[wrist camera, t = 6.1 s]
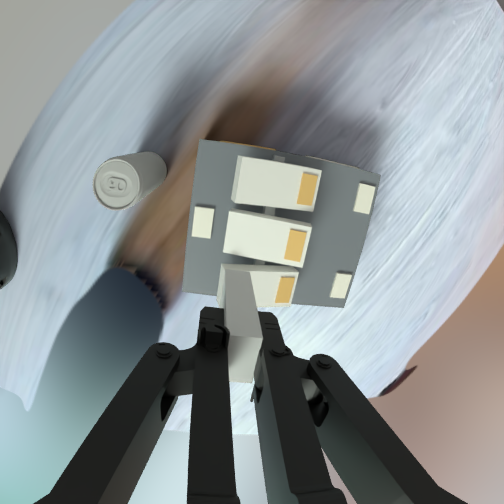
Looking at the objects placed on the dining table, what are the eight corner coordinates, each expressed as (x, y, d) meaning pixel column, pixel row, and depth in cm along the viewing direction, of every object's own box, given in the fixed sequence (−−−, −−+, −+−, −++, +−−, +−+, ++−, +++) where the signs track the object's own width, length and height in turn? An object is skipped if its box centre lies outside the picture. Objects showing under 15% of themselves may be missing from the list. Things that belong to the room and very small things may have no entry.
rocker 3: (216, 299, 32) (219, 308, 30) (221, 263, 30) (224, 271, 29) (284, 299, 34) (290, 307, 33) (292, 266, 33) (299, 273, 31)
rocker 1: (230, 199, 28) (235, 203, 26) (237, 155, 27) (242, 156, 25) (305, 207, 31) (313, 212, 29) (314, 168, 29) (322, 170, 28)
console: (187, 270, 39) (180, 297, 33) (204, 138, 34) (198, 137, 27) (329, 286, 42) (347, 313, 35) (359, 167, 36) (387, 175, 29)
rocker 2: (225, 247, 31) (222, 252, 30) (231, 208, 30) (228, 211, 28) (301, 262, 31) (302, 268, 29) (310, 223, 30) (312, 227, 28)
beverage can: (135, 147, 33) (95, 153, 22) (171, 155, 34) (146, 162, 23) (127, 185, 35) (87, 206, 24) (163, 193, 36) (136, 217, 24)
